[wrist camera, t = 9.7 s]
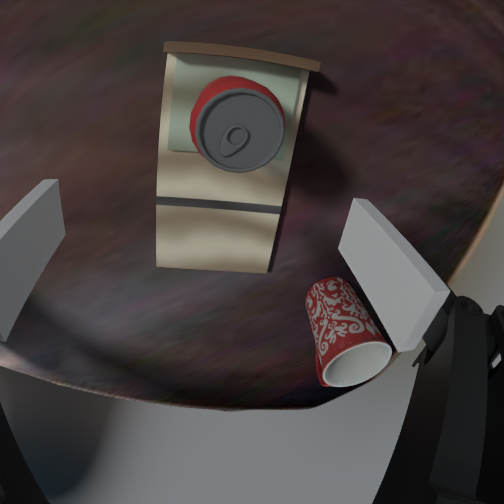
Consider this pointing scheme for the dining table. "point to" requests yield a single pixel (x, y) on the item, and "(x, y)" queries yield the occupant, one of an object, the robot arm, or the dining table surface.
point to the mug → (344, 335)
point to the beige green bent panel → (215, 179)
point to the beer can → (237, 124)
